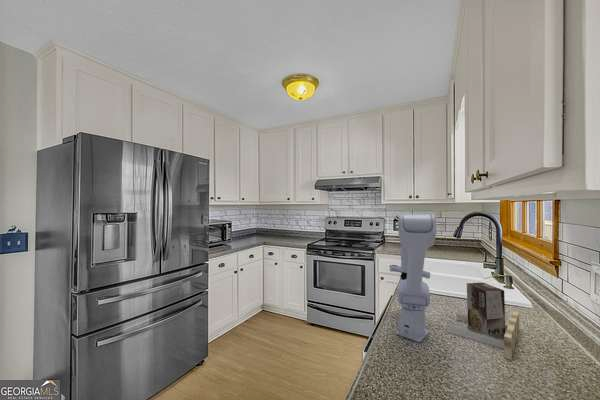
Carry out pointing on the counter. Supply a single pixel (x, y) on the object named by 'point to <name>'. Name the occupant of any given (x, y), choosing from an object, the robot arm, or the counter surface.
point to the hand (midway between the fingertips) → (409, 292)
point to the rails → (474, 333)
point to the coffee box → (486, 309)
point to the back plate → (511, 335)
